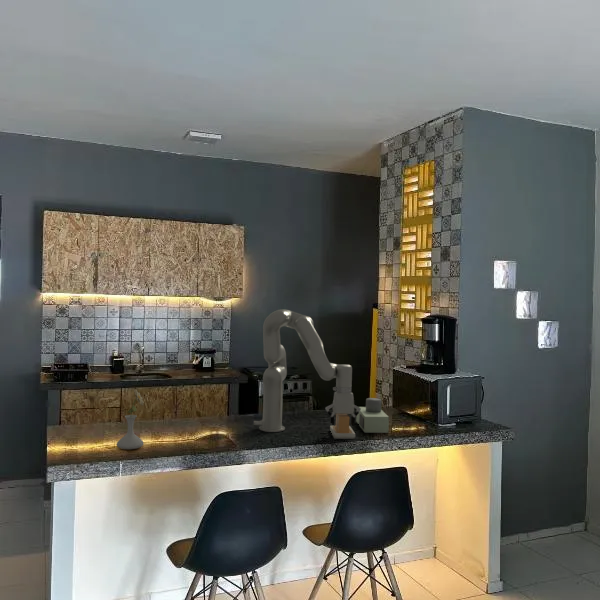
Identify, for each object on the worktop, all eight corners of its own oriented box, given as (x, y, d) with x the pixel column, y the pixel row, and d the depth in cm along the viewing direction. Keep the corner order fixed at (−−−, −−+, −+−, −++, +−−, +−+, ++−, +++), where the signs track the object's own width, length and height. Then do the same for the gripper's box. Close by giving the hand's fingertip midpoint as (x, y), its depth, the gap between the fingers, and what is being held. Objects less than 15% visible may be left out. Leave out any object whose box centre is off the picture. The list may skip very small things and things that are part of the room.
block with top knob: (363, 432, 301) (364, 404, 301) (355, 421, 325) (356, 395, 325) (388, 432, 302) (389, 404, 302) (378, 421, 326) (379, 396, 326)
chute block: (338, 435, 289) (339, 417, 289) (335, 430, 300) (336, 412, 300) (348, 435, 290) (349, 417, 290) (345, 430, 301) (346, 412, 301)
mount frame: (334, 438, 287) (334, 433, 287) (329, 430, 303) (330, 425, 303) (355, 438, 288) (355, 433, 288) (349, 430, 304) (349, 425, 303)
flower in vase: (134, 452, 253) (136, 393, 252) (110, 449, 256) (112, 391, 255) (150, 445, 265) (152, 388, 265) (127, 442, 268) (129, 386, 268)
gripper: (327, 391, 290) (325, 426, 291) (362, 391, 292) (361, 426, 292) (325, 388, 298) (324, 422, 298) (359, 389, 299) (358, 423, 299)
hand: (342, 424), depth 295 cm, fingers open, 9 cm apart
